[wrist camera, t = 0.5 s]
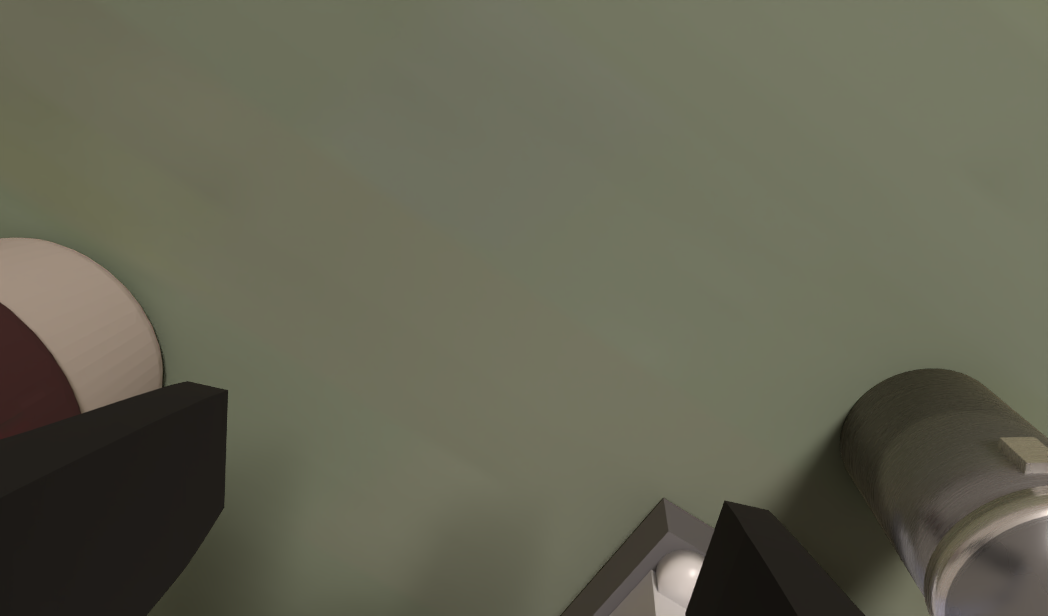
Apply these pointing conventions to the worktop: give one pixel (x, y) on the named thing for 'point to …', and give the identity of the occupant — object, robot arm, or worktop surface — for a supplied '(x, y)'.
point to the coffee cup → (67, 337)
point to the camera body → (649, 568)
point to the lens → (955, 490)
